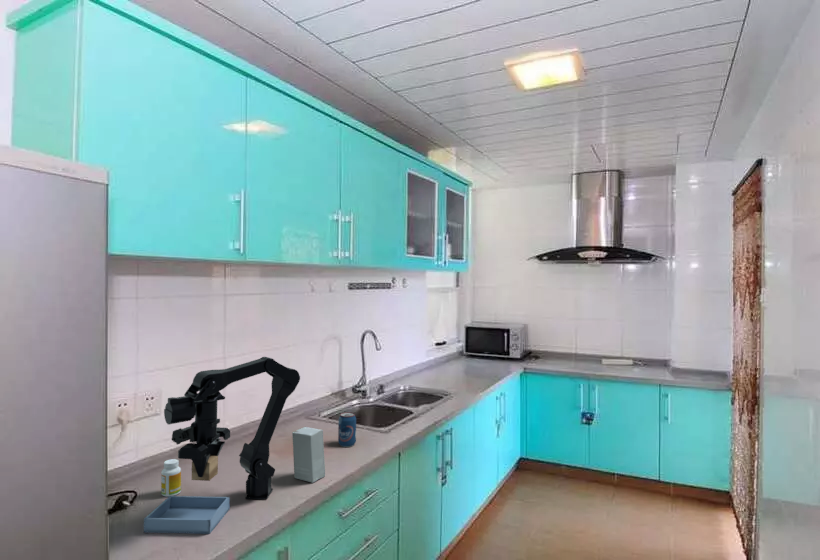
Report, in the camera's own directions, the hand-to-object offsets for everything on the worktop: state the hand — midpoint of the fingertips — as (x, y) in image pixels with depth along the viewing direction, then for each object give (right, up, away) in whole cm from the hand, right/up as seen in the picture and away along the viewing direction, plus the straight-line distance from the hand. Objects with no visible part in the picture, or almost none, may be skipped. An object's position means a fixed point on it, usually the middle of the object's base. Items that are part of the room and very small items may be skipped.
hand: (205, 473), depth 137 cm
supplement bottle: (-15, -11, +12) cm, 23 cm away
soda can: (+32, -11, +56) cm, 66 cm away
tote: (-3, -11, -4) cm, 12 cm away
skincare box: (+24, -11, +24) cm, 36 cm away
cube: (0, -1, 0) cm, 1 cm away
